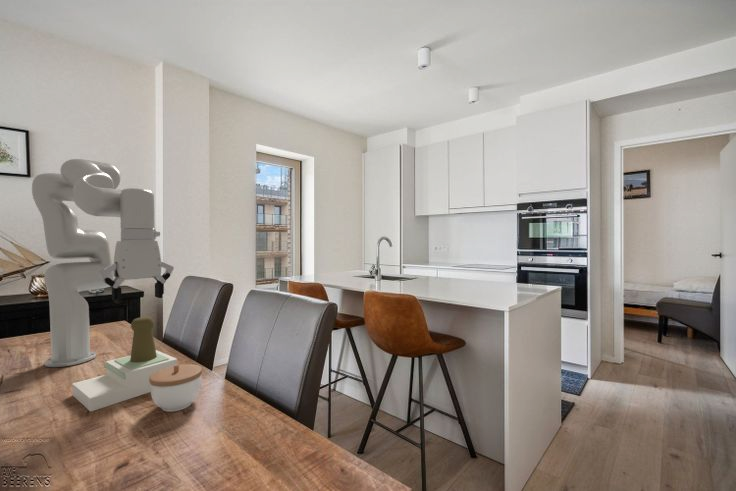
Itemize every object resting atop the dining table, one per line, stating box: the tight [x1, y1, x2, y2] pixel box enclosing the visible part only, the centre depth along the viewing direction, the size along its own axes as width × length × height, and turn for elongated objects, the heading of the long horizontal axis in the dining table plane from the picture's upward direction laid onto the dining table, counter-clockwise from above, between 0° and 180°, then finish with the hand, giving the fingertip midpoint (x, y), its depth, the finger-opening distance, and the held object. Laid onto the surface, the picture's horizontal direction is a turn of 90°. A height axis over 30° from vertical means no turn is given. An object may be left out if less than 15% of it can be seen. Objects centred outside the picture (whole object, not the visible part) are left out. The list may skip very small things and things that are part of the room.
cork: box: [130, 316, 157, 362], centre depth 93 cm, size 6×6×11 cm
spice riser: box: [71, 349, 179, 412], centre depth 90 cm, size 14×19×7 cm
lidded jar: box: [149, 363, 203, 413], centre depth 81 cm, size 11×11×9 cm
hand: (139, 300), depth 93 cm, fingers open, 9 cm apart
